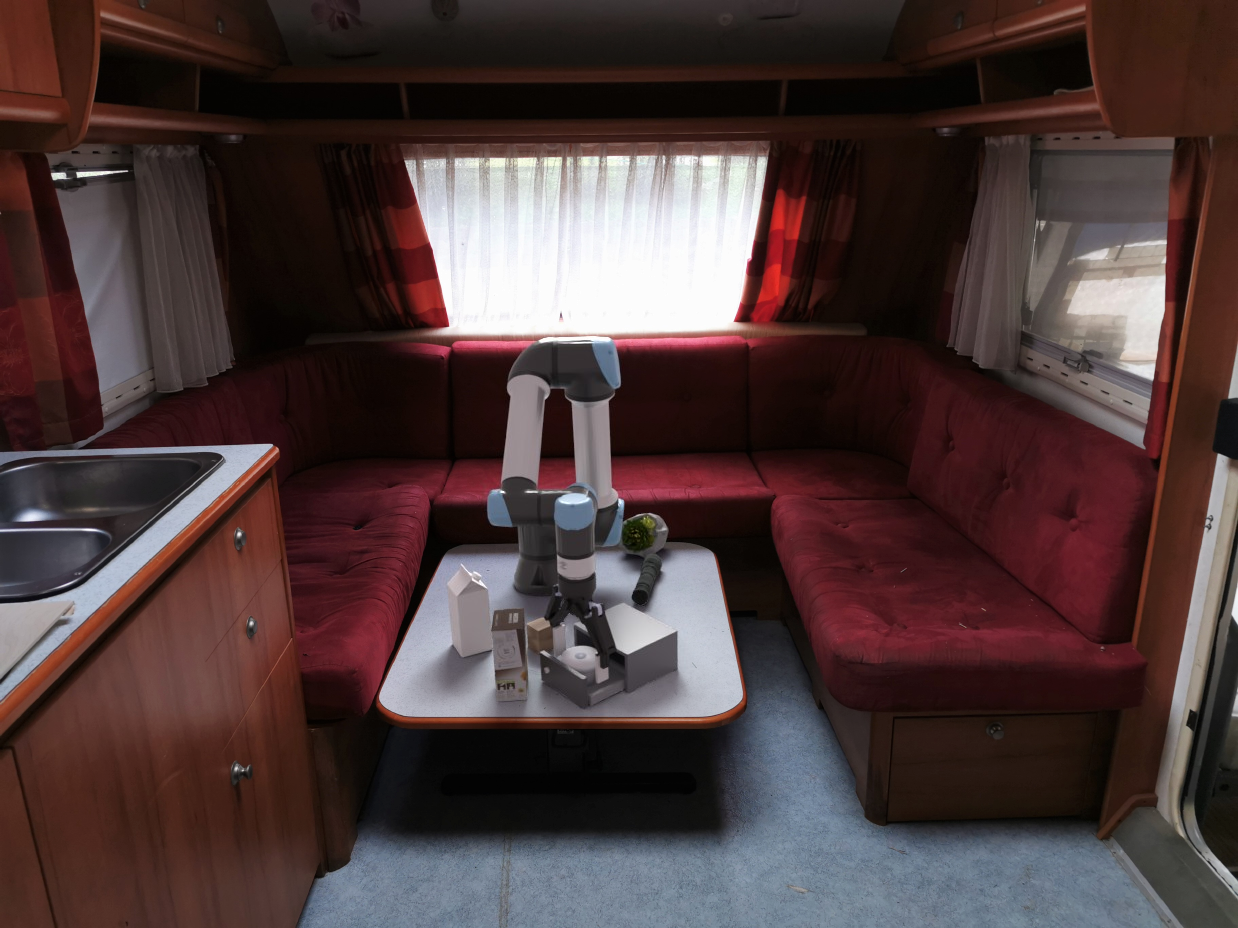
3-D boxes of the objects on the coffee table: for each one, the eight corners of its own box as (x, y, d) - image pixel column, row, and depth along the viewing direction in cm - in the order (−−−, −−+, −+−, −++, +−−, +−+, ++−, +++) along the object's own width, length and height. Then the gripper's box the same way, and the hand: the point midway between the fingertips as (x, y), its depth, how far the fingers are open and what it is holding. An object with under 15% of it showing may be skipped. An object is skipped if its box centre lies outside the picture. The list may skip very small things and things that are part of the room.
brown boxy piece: (527, 647, 201) (526, 623, 199) (543, 640, 203) (542, 617, 201) (539, 655, 197) (538, 630, 196) (555, 648, 200) (554, 624, 198)
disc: (553, 662, 184) (552, 655, 184) (583, 648, 189) (583, 641, 189) (577, 677, 178) (577, 670, 178) (608, 663, 183) (608, 656, 183)
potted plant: (678, 535, 249) (668, 543, 235) (642, 563, 252) (630, 571, 238) (651, 501, 251) (639, 506, 236) (616, 528, 254) (602, 535, 239)
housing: (575, 661, 195) (573, 623, 192) (623, 638, 204) (623, 602, 201) (628, 693, 183) (627, 654, 180) (677, 668, 191) (677, 630, 188)
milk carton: (462, 658, 197) (455, 579, 191) (452, 644, 203) (445, 567, 197) (493, 650, 200) (487, 572, 194) (482, 636, 206) (476, 560, 200)
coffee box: (528, 700, 181) (523, 629, 176) (496, 702, 181) (490, 631, 176) (528, 675, 190) (524, 607, 185) (498, 677, 189) (492, 608, 184)
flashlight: (662, 570, 237) (662, 553, 236) (650, 607, 218) (649, 588, 216) (644, 569, 238) (643, 552, 236) (629, 606, 219) (629, 587, 217)
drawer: (538, 680, 187) (536, 652, 185) (590, 655, 196) (589, 628, 194) (583, 710, 177) (581, 681, 175) (636, 683, 185) (636, 654, 183)
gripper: (523, 558, 184) (529, 650, 191) (603, 599, 166) (606, 699, 173) (553, 547, 189) (557, 638, 195) (633, 586, 171) (635, 684, 177)
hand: (580, 667), depth 184 cm, fingers open, 13 cm apart
